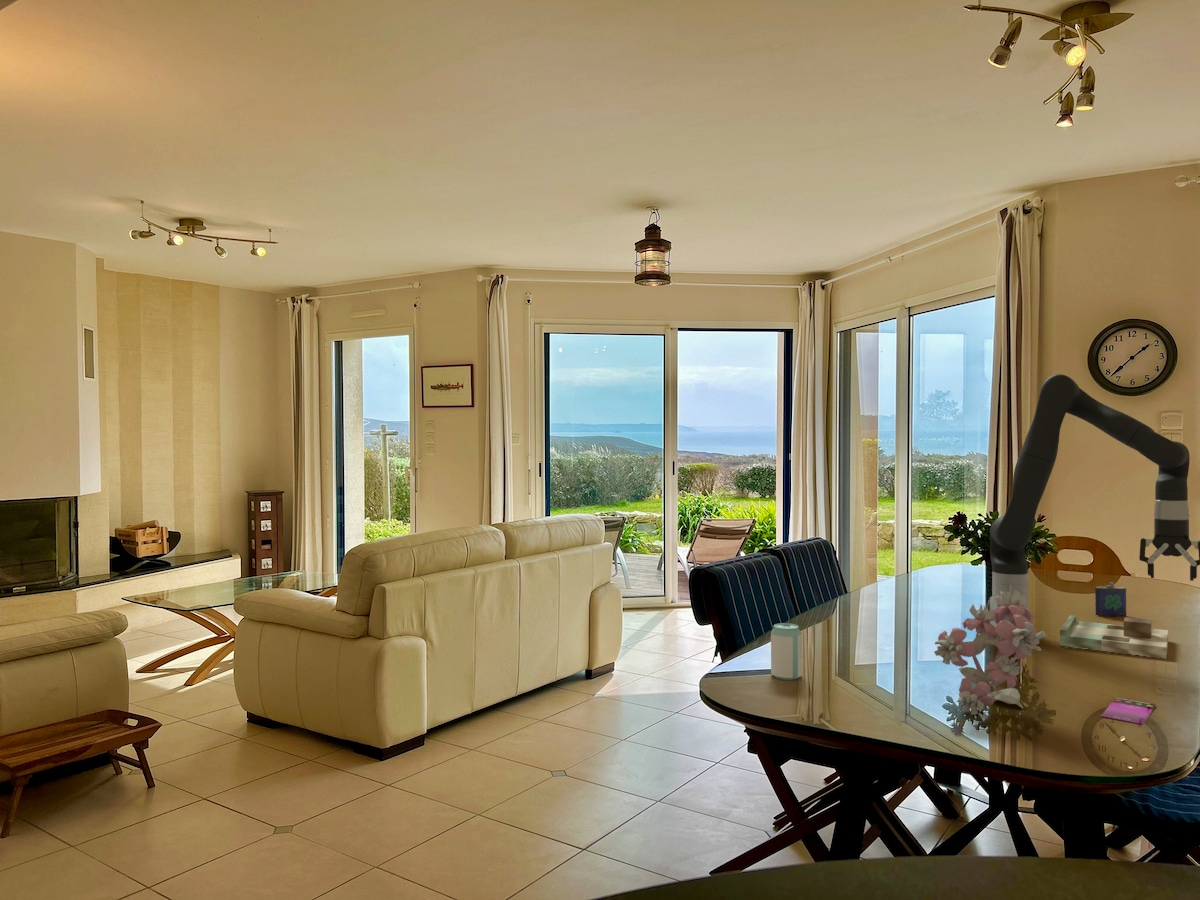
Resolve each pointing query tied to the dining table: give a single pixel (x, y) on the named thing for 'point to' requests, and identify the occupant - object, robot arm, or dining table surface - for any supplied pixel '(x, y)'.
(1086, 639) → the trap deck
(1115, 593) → the flask
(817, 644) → the dining table surface
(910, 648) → the dining table surface
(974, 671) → the flower
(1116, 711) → the smartphone
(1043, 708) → the dining table surface
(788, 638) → the can
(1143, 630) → the walnut block
